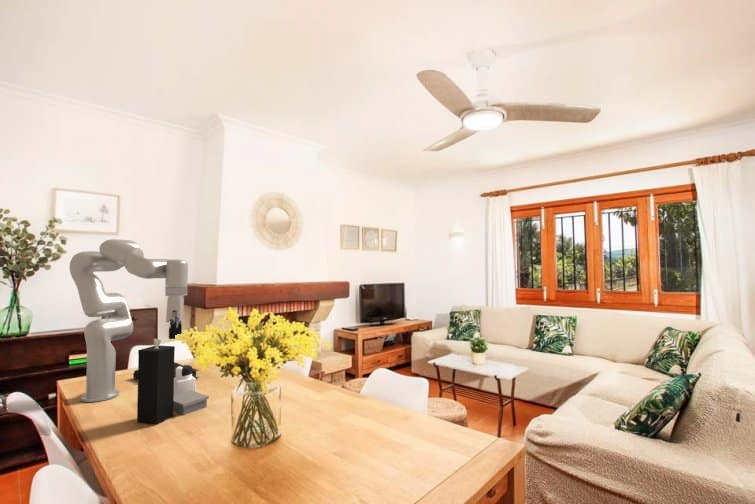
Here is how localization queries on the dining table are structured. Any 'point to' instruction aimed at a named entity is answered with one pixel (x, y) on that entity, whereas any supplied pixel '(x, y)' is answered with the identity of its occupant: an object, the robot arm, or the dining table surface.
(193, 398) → the podium
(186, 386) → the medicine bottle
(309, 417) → the dining table surface
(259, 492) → the dining table surface
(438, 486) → the dining table surface
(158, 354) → the tall black pillar
